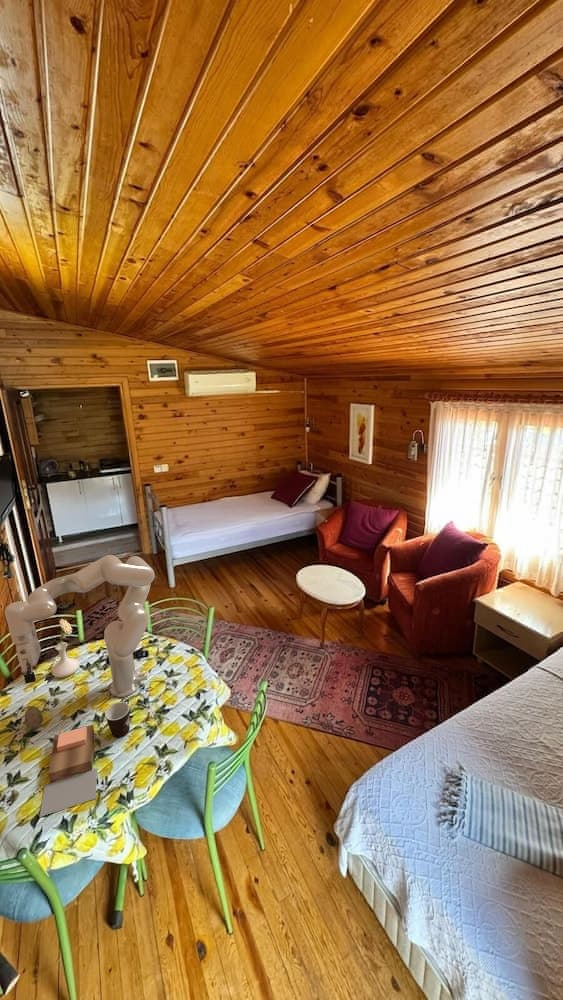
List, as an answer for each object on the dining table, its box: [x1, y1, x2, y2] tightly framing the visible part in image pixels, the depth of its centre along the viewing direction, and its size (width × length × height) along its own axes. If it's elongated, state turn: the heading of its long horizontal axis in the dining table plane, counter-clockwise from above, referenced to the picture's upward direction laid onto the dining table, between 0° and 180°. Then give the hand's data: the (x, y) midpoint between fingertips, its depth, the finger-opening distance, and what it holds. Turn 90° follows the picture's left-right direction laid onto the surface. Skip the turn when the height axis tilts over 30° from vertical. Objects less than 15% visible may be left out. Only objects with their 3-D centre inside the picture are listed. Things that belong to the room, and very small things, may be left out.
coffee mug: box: [104, 698, 131, 739], centre depth 156 cm, size 12×9×10 cm
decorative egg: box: [24, 705, 44, 731], centre depth 156 cm, size 6×6×10 cm
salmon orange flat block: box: [57, 726, 87, 752], centre depth 147 cm, size 9×6×2 cm, turn 111°
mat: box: [39, 768, 98, 818], centre depth 133 cm, size 16×11×1 cm
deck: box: [47, 724, 96, 784], centre depth 145 cm, size 13×16×4 cm
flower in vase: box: [51, 618, 80, 678], centre depth 184 cm, size 13×11×25 cm
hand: (33, 673), depth 152 cm, fingers open, 9 cm apart
